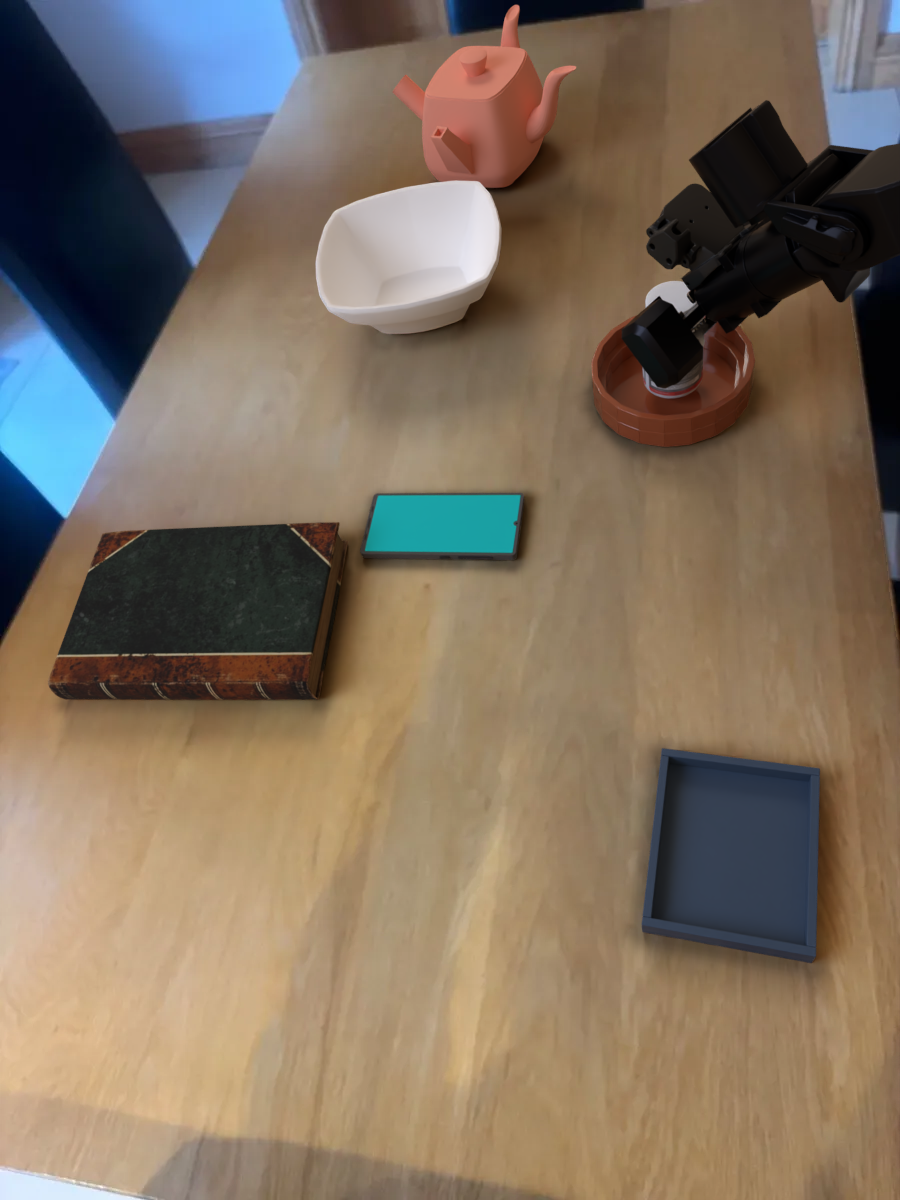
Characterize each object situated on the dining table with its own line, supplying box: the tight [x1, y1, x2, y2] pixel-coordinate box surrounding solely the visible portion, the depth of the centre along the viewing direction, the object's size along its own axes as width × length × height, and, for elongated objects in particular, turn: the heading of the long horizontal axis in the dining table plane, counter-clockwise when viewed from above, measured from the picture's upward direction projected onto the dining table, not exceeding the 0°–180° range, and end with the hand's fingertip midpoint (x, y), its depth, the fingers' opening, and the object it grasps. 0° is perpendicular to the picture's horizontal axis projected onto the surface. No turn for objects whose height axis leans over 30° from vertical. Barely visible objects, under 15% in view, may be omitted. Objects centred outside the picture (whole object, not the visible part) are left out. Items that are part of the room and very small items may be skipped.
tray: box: [641, 747, 821, 964], centre depth 65 cm, size 13×11×2 cm
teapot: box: [392, 4, 577, 189], centre depth 113 cm, size 18×18×14 cm
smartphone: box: [359, 492, 526, 561], centre depth 87 cm, size 7×1×15 cm
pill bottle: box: [643, 280, 704, 399], centre depth 86 cm, size 6×6×10 cm
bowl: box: [315, 181, 502, 335], centre depth 102 cm, size 21×21×9 cm
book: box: [47, 521, 349, 701], centre depth 85 cm, size 17×4×25 cm
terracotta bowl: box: [590, 314, 756, 448], centre depth 89 cm, size 15×15×4 cm
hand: (660, 324), depth 85 cm, fingers closed on pill bottle, 6 cm apart
